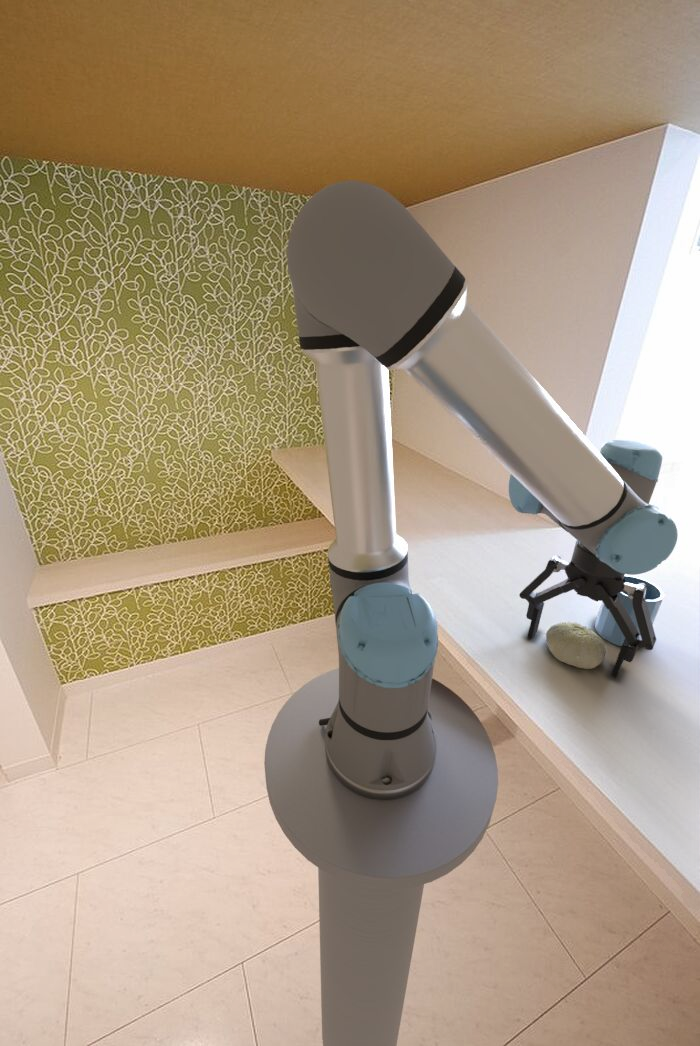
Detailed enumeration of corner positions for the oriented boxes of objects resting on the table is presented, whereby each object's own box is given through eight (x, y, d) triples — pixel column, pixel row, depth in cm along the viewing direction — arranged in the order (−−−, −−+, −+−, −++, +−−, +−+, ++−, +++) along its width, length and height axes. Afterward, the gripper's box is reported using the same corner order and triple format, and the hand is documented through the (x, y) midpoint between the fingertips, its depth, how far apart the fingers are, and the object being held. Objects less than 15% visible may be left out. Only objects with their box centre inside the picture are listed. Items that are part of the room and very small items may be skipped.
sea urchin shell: (576, 620, 80) (607, 614, 72) (590, 665, 77) (623, 664, 70) (532, 627, 78) (559, 621, 70) (544, 673, 75) (574, 672, 68)
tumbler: (589, 633, 80) (603, 587, 75) (601, 613, 85) (615, 569, 81) (640, 655, 75) (659, 607, 70) (649, 632, 80) (667, 587, 76)
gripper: (709, 564, 61) (660, 677, 70) (531, 513, 76) (510, 612, 85) (702, 586, 56) (651, 705, 65) (513, 527, 71) (493, 630, 80)
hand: (571, 652), depth 75 cm, fingers open, 13 cm apart
